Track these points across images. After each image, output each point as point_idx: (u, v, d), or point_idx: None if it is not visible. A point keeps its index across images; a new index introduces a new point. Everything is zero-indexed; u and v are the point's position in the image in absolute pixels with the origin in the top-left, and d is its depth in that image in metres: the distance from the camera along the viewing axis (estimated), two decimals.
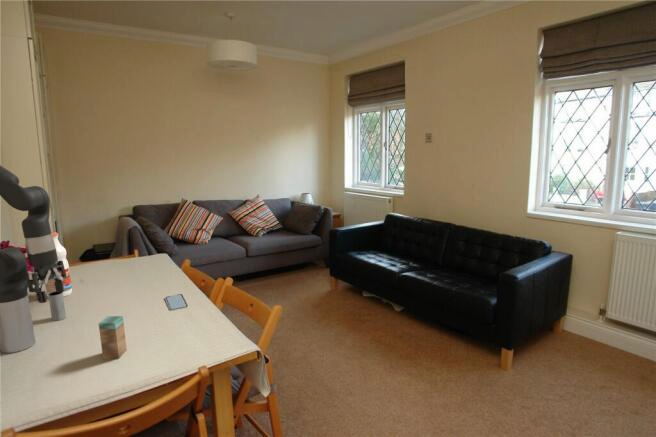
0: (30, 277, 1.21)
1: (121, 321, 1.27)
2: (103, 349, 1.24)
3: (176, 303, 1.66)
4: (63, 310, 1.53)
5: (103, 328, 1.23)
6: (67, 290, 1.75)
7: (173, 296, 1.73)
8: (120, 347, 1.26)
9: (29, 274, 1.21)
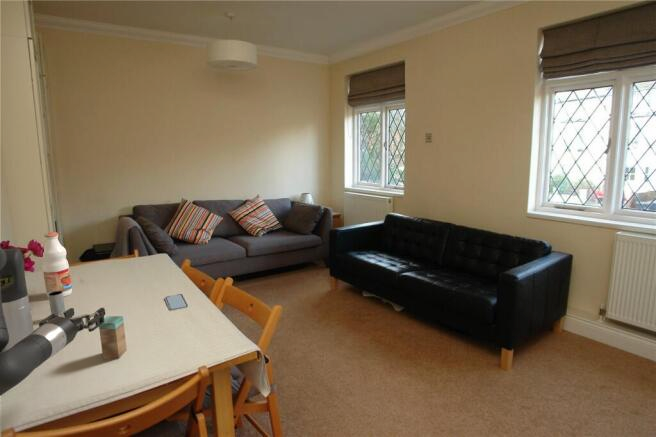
0: None
1: (121, 321, 1.27)
2: (103, 349, 1.24)
3: (176, 303, 1.66)
4: (63, 310, 1.53)
5: (103, 328, 1.23)
6: (67, 290, 1.75)
7: (173, 296, 1.73)
8: (120, 347, 1.26)
9: (39, 326, 1.03)
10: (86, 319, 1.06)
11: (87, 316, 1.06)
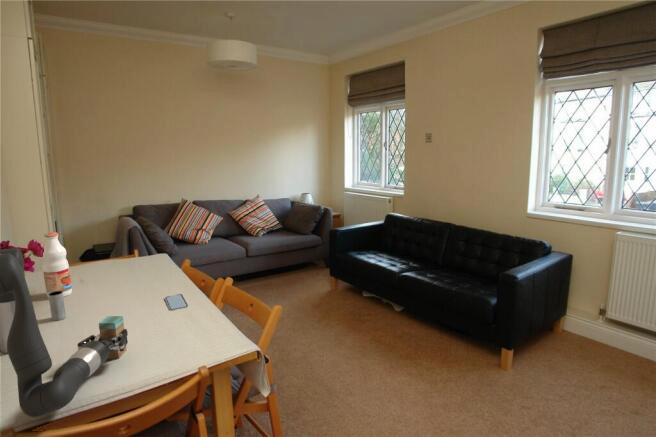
0: None
1: (121, 321, 1.27)
2: None
3: (176, 303, 1.66)
4: (63, 310, 1.53)
5: (103, 328, 1.23)
6: (67, 290, 1.75)
7: (173, 296, 1.73)
8: None
9: (78, 346, 1.19)
10: (113, 340, 1.22)
11: (115, 338, 1.22)
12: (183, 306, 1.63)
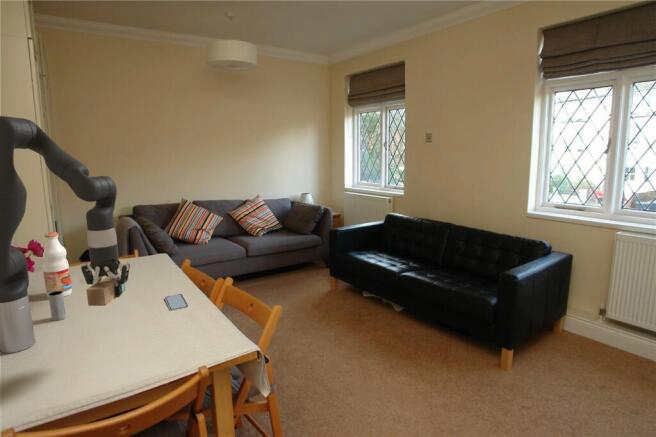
0: None
1: (123, 288, 1.26)
2: (94, 285, 1.18)
3: (176, 303, 1.66)
4: (63, 310, 1.53)
5: None
6: (67, 290, 1.75)
7: (173, 296, 1.73)
8: (109, 289, 1.18)
9: None
10: (115, 275, 1.21)
11: (118, 274, 1.22)
12: (183, 306, 1.63)
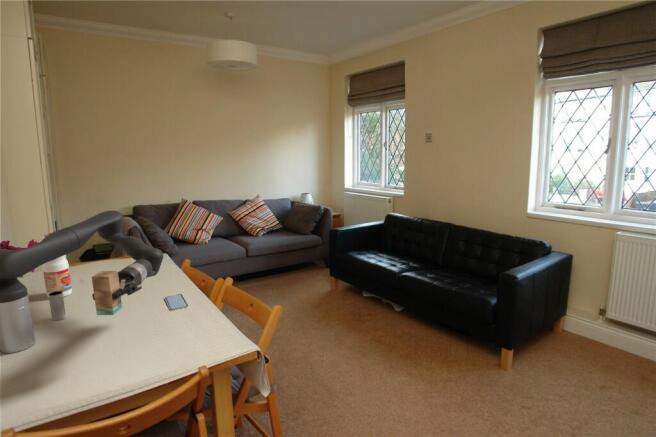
0: None
1: (115, 309, 1.19)
2: None
3: (176, 303, 1.66)
4: (63, 310, 1.53)
5: None
6: (67, 290, 1.75)
7: (173, 296, 1.73)
8: (116, 282, 1.20)
9: None
10: None
11: None
12: (183, 306, 1.63)
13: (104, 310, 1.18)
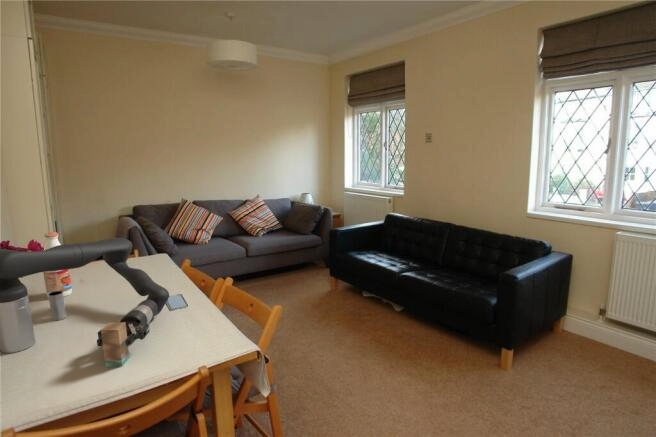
0: None
1: (123, 360, 1.22)
2: None
3: (176, 303, 1.66)
4: (63, 310, 1.53)
5: None
6: (67, 290, 1.75)
7: (173, 296, 1.73)
8: (124, 333, 1.23)
9: None
10: None
11: None
12: (183, 306, 1.63)
13: (113, 362, 1.20)
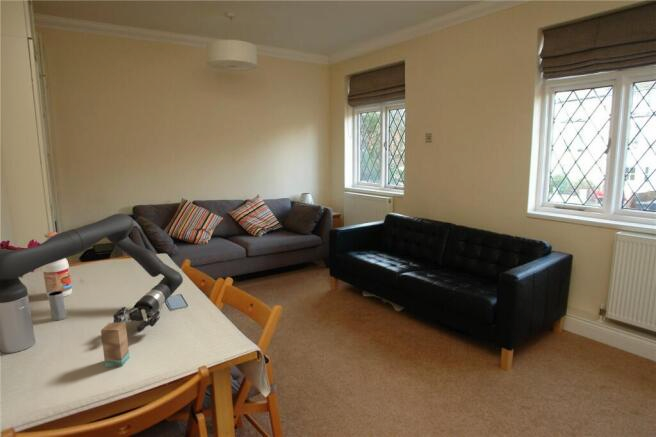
0: None
1: (123, 360, 1.22)
2: None
3: (176, 303, 1.66)
4: (63, 310, 1.53)
5: None
6: (67, 290, 1.75)
7: (173, 296, 1.73)
8: (124, 333, 1.23)
9: None
10: None
11: None
12: (183, 306, 1.63)
13: (113, 362, 1.20)
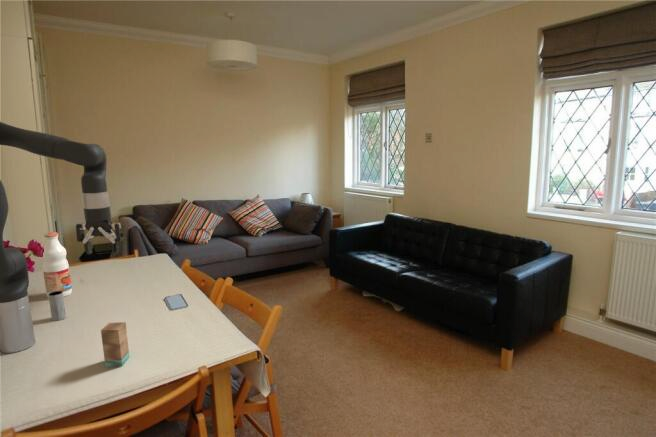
0: None
1: (123, 360, 1.22)
2: None
3: (176, 303, 1.66)
4: (63, 310, 1.53)
5: None
6: (67, 290, 1.75)
7: (172, 296, 1.73)
8: (124, 333, 1.23)
9: None
10: None
11: (113, 233, 1.33)
12: (183, 306, 1.63)
13: (113, 362, 1.20)
